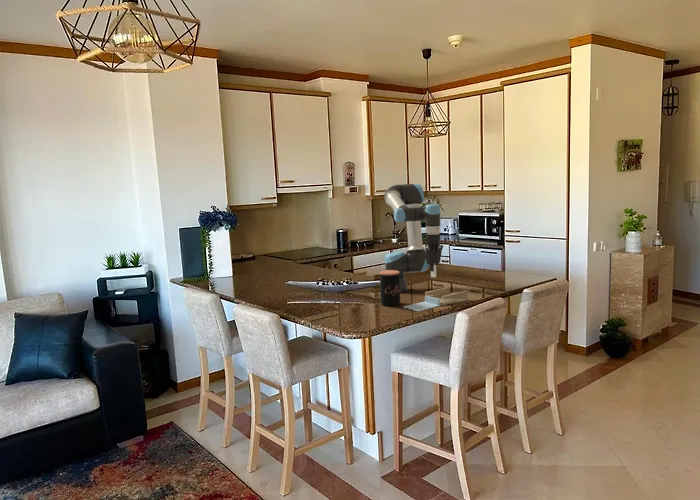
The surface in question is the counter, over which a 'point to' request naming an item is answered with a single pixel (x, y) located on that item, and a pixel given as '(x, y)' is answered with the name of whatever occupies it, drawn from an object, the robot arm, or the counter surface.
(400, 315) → the counter surface
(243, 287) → the counter surface
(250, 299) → the counter surface
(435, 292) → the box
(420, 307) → the cover plate
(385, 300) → the coffee jar
